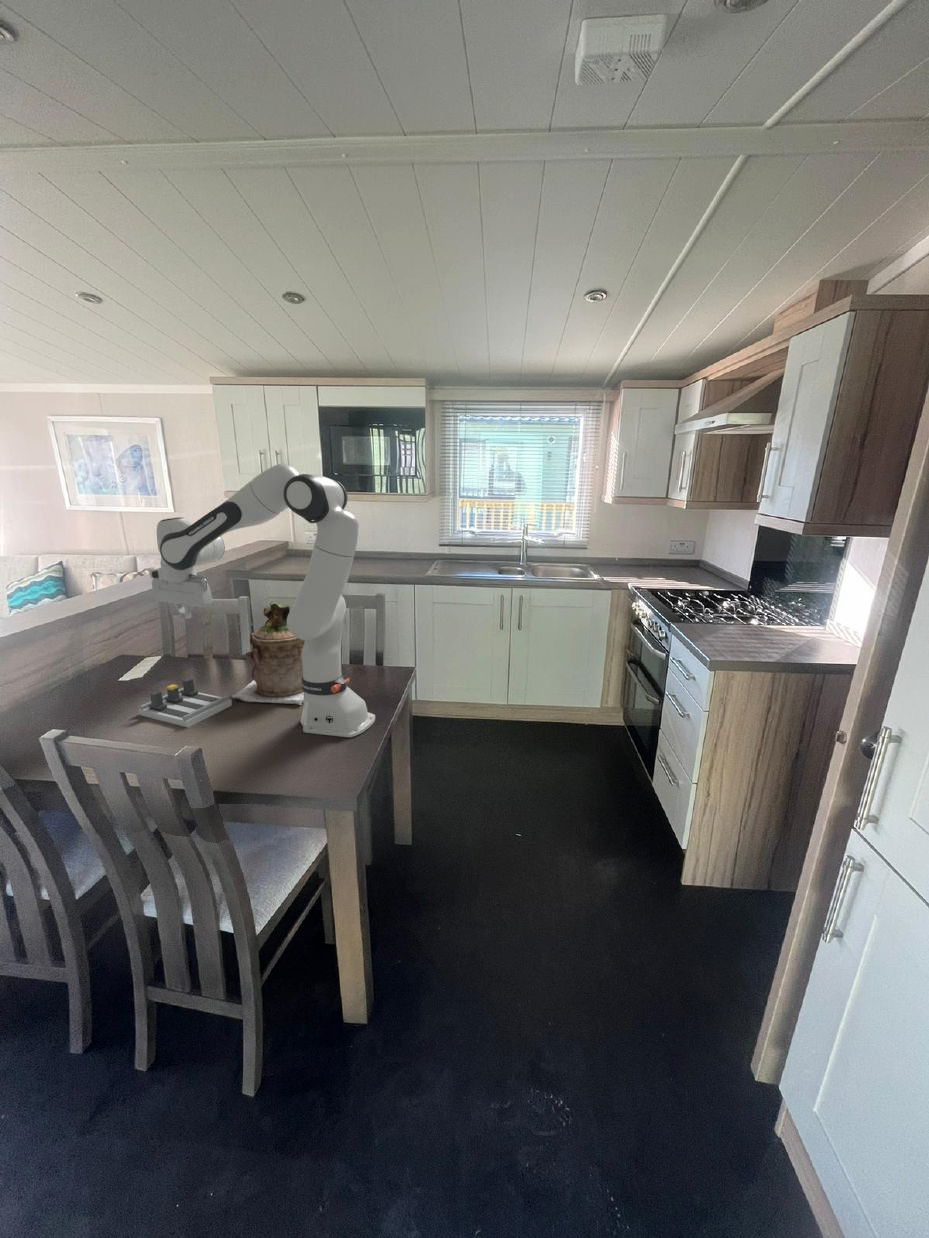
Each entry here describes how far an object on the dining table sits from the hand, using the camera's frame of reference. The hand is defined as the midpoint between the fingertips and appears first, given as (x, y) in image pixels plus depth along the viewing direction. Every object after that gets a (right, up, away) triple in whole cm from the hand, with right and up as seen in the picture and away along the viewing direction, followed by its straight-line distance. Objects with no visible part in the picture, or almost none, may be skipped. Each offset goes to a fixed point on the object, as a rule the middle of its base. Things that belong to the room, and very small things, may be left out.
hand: (185, 617), depth 144 cm
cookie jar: (+22, -25, +21) cm, 39 cm away
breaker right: (-5, -25, +10) cm, 27 cm away
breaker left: (-9, -27, 0) cm, 29 cm away
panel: (-2, -29, +4) cm, 29 cm away
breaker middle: (-7, -26, +5) cm, 27 cm away
